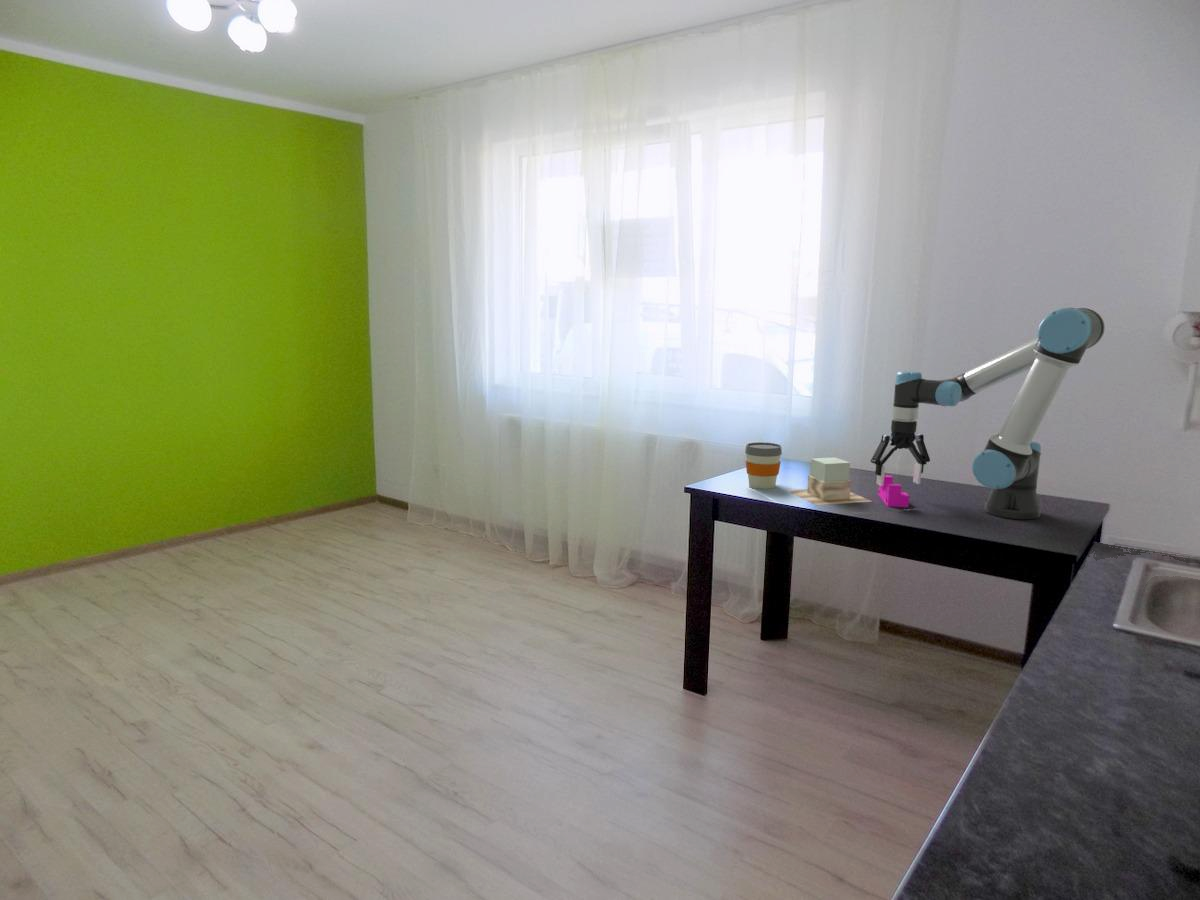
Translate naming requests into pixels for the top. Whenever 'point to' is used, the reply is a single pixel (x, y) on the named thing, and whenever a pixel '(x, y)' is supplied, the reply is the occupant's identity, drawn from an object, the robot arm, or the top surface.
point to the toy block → (893, 493)
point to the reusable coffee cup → (763, 464)
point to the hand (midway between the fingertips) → (898, 484)
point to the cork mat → (817, 501)
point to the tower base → (829, 489)
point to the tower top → (830, 469)
